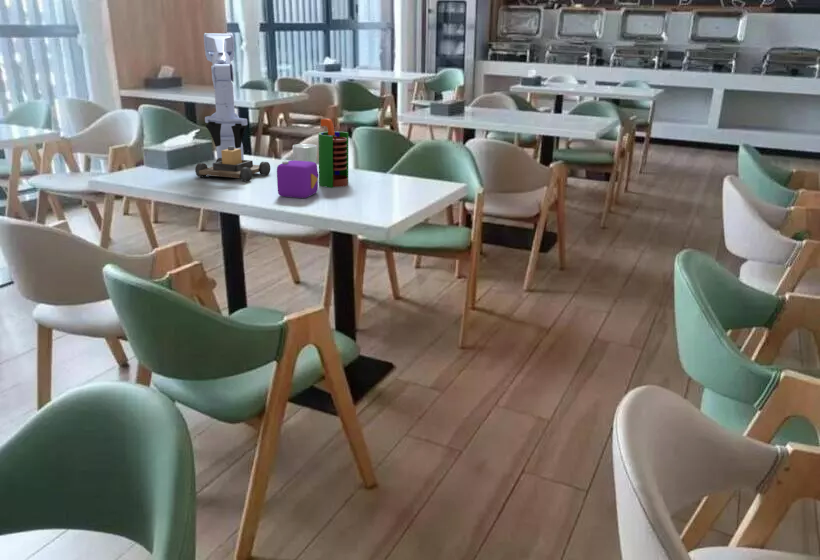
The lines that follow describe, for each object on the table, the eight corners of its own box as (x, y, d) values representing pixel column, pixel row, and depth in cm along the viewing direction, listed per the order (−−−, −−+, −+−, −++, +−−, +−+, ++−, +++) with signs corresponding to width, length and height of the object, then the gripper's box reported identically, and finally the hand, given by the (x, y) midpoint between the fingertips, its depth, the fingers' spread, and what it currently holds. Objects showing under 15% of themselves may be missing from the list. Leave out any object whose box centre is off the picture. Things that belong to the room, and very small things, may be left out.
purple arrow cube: (323, 189, 205) (322, 156, 202) (312, 200, 193) (311, 164, 189) (288, 188, 206) (287, 155, 203) (275, 198, 193) (273, 163, 190)
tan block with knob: (231, 166, 223) (230, 145, 221) (242, 167, 222) (240, 146, 220) (222, 169, 219) (221, 147, 217) (233, 170, 218) (231, 148, 215)
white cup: (288, 176, 223) (287, 146, 219) (303, 172, 229) (302, 142, 226) (308, 179, 219) (307, 148, 216) (322, 175, 226) (321, 145, 222)
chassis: (224, 169, 232) (223, 156, 230) (271, 174, 226) (270, 160, 224) (195, 178, 218) (194, 163, 216) (244, 183, 212) (243, 168, 210)
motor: (342, 188, 207) (341, 121, 200) (314, 186, 209) (312, 120, 202) (351, 182, 216) (351, 117, 210) (324, 180, 218) (323, 116, 211)
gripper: (197, 103, 214) (201, 146, 218) (237, 105, 209) (240, 150, 214) (211, 101, 220) (214, 143, 224) (249, 103, 215) (252, 146, 220)
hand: (227, 146), depth 220 cm, fingers open, 7 cm apart
